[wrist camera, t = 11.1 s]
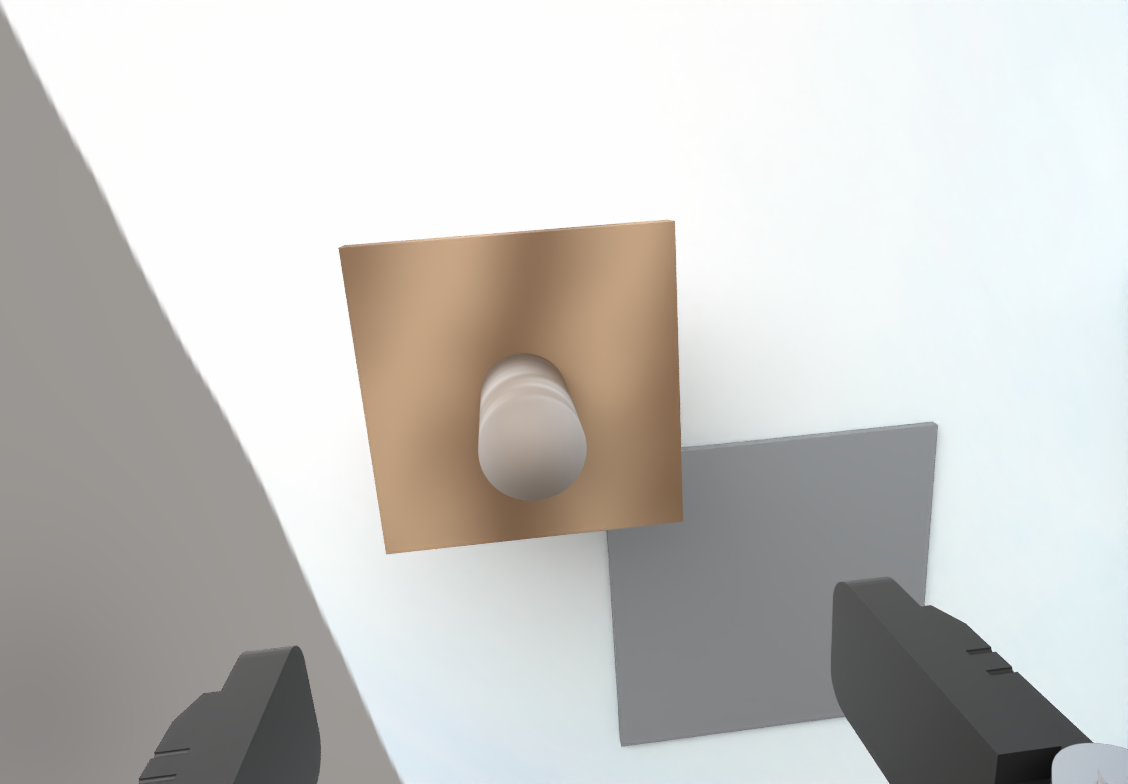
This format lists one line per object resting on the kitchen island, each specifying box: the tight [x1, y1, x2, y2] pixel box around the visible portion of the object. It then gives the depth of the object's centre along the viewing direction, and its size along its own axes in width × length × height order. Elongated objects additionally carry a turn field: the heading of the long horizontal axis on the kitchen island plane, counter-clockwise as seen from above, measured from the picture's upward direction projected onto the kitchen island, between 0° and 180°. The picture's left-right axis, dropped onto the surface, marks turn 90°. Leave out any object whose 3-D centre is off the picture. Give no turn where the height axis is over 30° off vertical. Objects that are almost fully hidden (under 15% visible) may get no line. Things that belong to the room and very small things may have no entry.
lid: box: [339, 220, 683, 554], centre depth 23 cm, size 11×11×6 cm
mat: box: [607, 422, 938, 746], centre depth 41 cm, size 18×18×1 cm
